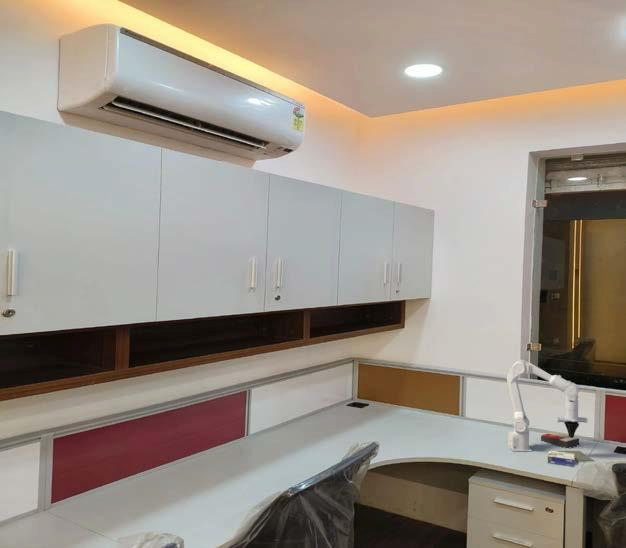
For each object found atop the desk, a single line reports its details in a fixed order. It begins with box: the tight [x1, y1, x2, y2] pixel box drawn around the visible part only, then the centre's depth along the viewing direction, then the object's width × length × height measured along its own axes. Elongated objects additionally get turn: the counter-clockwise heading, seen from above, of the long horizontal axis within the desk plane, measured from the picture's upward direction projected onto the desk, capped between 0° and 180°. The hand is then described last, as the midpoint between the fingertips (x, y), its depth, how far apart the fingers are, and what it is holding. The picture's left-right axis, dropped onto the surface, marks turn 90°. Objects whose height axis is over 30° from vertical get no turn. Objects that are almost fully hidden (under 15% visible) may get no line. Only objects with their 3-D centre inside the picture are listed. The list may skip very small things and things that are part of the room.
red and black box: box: [540, 431, 580, 449], centre depth 291 cm, size 11×4×15 cm
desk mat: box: [557, 450, 595, 462], centre depth 269 cm, size 11×14×1 cm
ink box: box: [546, 450, 576, 467], centre depth 263 cm, size 12×2×12 cm
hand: (571, 437), depth 269 cm, fingers closed
